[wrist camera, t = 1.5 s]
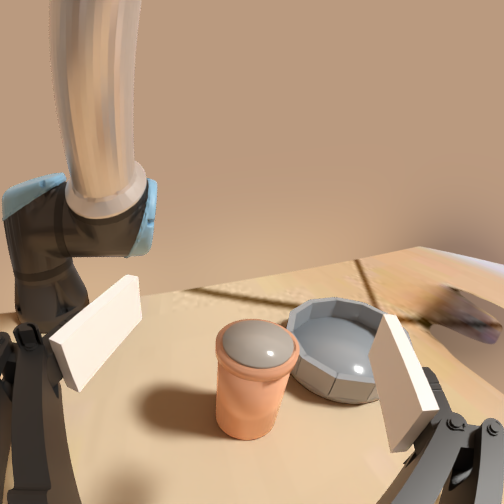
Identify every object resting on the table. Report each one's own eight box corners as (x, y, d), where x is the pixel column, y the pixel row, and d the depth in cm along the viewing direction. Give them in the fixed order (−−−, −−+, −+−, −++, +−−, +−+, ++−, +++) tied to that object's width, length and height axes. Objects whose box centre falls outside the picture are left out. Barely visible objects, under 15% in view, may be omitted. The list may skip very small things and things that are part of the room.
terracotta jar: (207, 396, 32) (209, 319, 27) (265, 388, 34) (282, 313, 29) (220, 446, 25) (226, 377, 20) (286, 434, 27) (314, 363, 23)
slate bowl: (264, 325, 47) (268, 303, 45) (359, 312, 53) (366, 293, 51) (316, 420, 29) (326, 399, 28) (422, 379, 35) (435, 359, 34)
